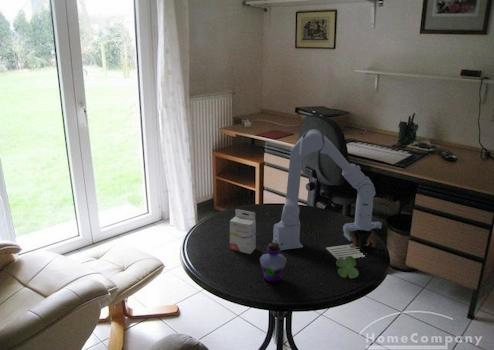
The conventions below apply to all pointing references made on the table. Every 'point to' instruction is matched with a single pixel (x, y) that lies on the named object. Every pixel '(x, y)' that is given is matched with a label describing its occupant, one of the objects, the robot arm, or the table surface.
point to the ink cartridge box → (243, 232)
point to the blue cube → (347, 234)
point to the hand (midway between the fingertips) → (360, 247)
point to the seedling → (347, 267)
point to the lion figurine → (352, 235)
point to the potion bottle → (273, 263)
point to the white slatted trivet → (345, 251)
